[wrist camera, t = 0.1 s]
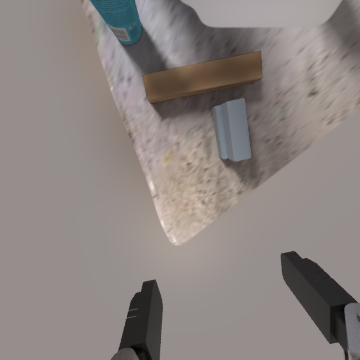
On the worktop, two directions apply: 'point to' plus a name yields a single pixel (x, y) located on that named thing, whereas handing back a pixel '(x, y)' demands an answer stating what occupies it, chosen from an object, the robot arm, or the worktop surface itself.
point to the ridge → (232, 130)
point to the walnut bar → (203, 77)
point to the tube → (120, 18)
